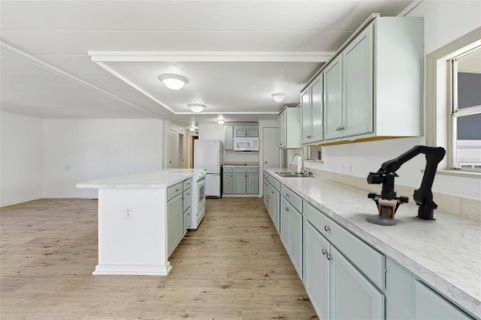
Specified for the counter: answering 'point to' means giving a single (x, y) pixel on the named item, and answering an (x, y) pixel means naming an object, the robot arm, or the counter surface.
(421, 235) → the counter surface
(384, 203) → the terracotta hood
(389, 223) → the slate dish
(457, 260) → the counter surface
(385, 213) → the walnut block
